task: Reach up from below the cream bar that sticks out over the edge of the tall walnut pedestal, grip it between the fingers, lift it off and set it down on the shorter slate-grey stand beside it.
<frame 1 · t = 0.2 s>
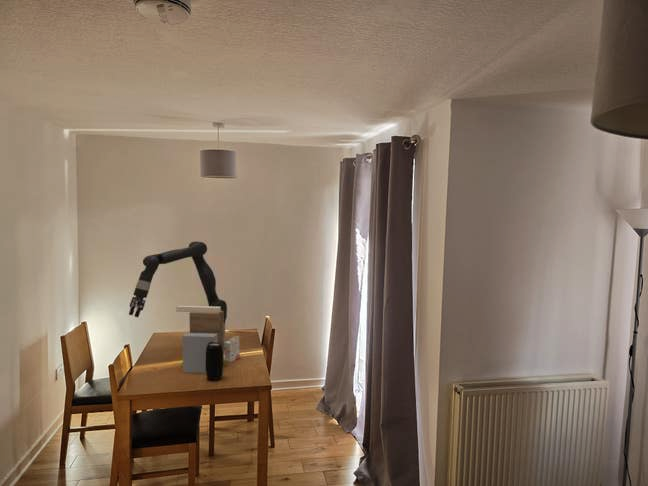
hand: (133, 315, 249), 31 cm above the table, tool tilted 20°, fingers open, 8 cm apart
walnut pedestal: (207, 364, 258), on the table
ink cartridge box: (232, 359, 268), on the table
cream bar: (198, 311, 257), point 32 cm above the table, touching walnut pedestal
grey stand: (200, 370, 247), on the table
portable speaker: (214, 378, 236), on the table
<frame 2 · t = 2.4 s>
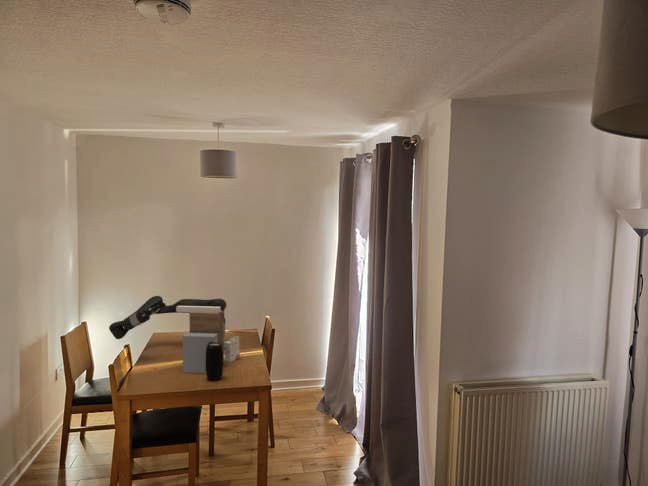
hand: (161, 305, 261), 35 cm above the table, tool pointing upward, fingers open, 8 cm apart
nothing on the table moved.
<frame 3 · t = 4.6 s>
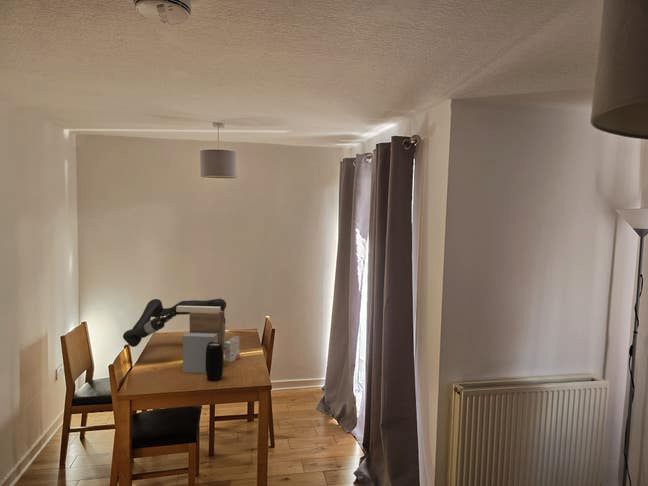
hand: (176, 312, 258), 31 cm above the table, tool pointing upward, fingers open, 8 cm apart
nothing on the table moved.
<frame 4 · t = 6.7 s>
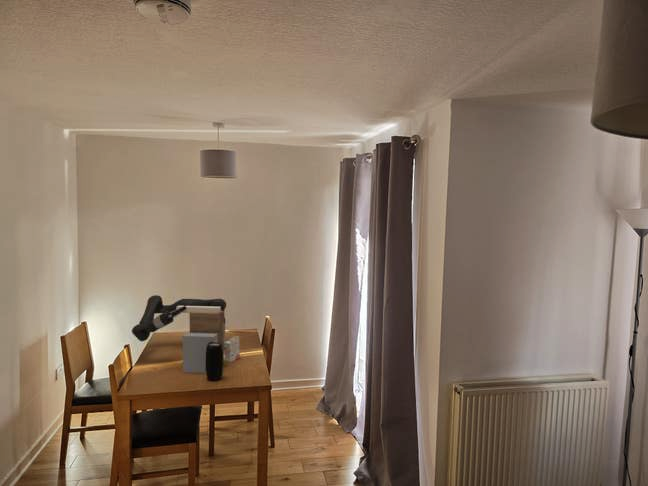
hand: (187, 306, 257), 35 cm above the table, tool pointing upward, fingers closed on cream bar, 3 cm apart
cream bar: (198, 311, 257), point 32 cm above the table, touching gripper, walnut pedestal
everything else where it was.
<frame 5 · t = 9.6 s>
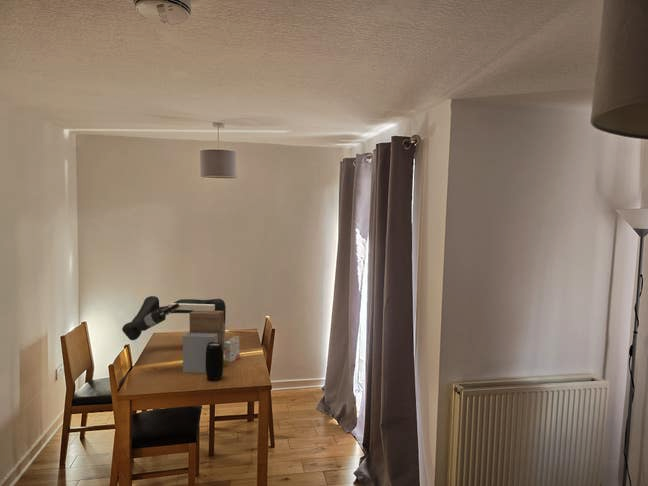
hand: (179, 304, 246), 38 cm above the table, tool pointing upward, fingers closed on cream bar, 3 cm apart
cream bar: (191, 309, 246), point 36 cm above the table, touching gripper
everything else where it was.
when the fingers open (26 cm above the table, at t = 12.7 s): cream bar drops 2 cm, resting on grey stand.
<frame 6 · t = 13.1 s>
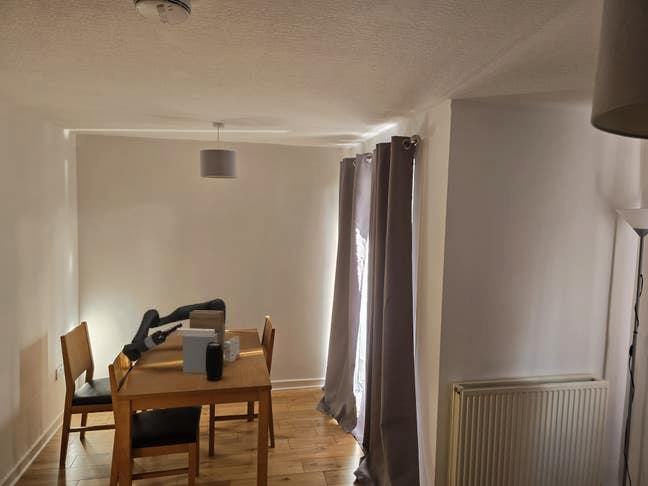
hand: (179, 326, 247), 26 cm above the table, tool pointing upward, fingers open, 7 cm apart
cream bar: (191, 334, 247), point 21 cm above the table, touching grey stand
everything else where it was.
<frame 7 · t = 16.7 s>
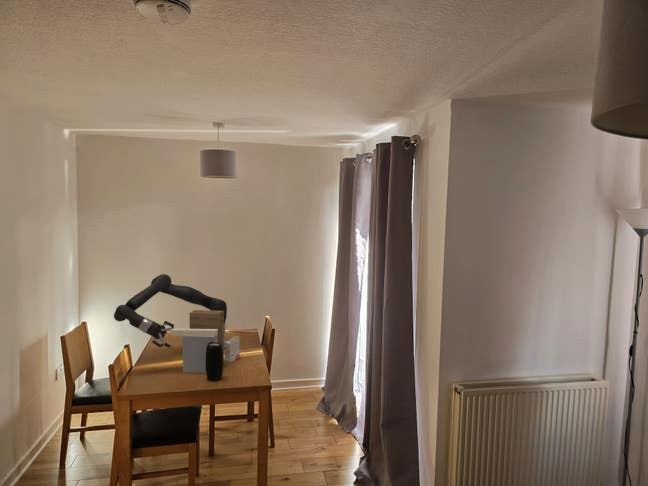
hand: (174, 339, 248), 18 cm above the table, tool tilted 60°, fingers open, 8 cm apart
cream bar: (194, 334, 246), point 21 cm above the table, touching grey stand
everything else where it was.
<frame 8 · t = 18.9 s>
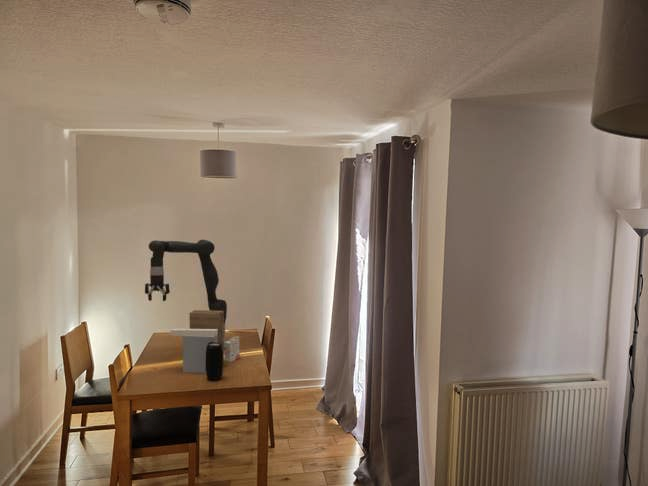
hand: (157, 300, 257), 38 cm above the table, tool pointing down, fingers open, 8 cm apart
nothing on the table moved.
at the end: cream bar inside the target area on the grey stand (1.6 cm from its centre), point 21.0 cm above the grey stand's base; the gripper is holding nothing; cream bar tilted 0° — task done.
